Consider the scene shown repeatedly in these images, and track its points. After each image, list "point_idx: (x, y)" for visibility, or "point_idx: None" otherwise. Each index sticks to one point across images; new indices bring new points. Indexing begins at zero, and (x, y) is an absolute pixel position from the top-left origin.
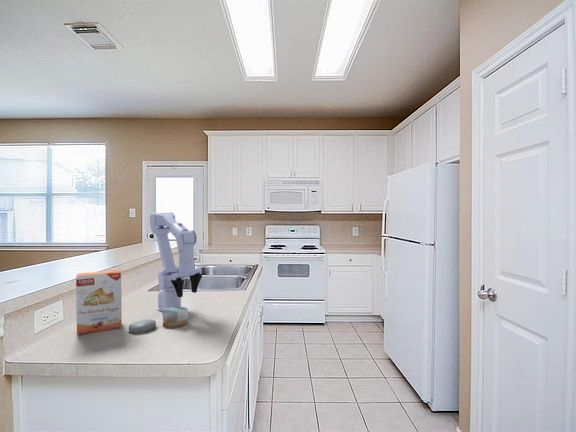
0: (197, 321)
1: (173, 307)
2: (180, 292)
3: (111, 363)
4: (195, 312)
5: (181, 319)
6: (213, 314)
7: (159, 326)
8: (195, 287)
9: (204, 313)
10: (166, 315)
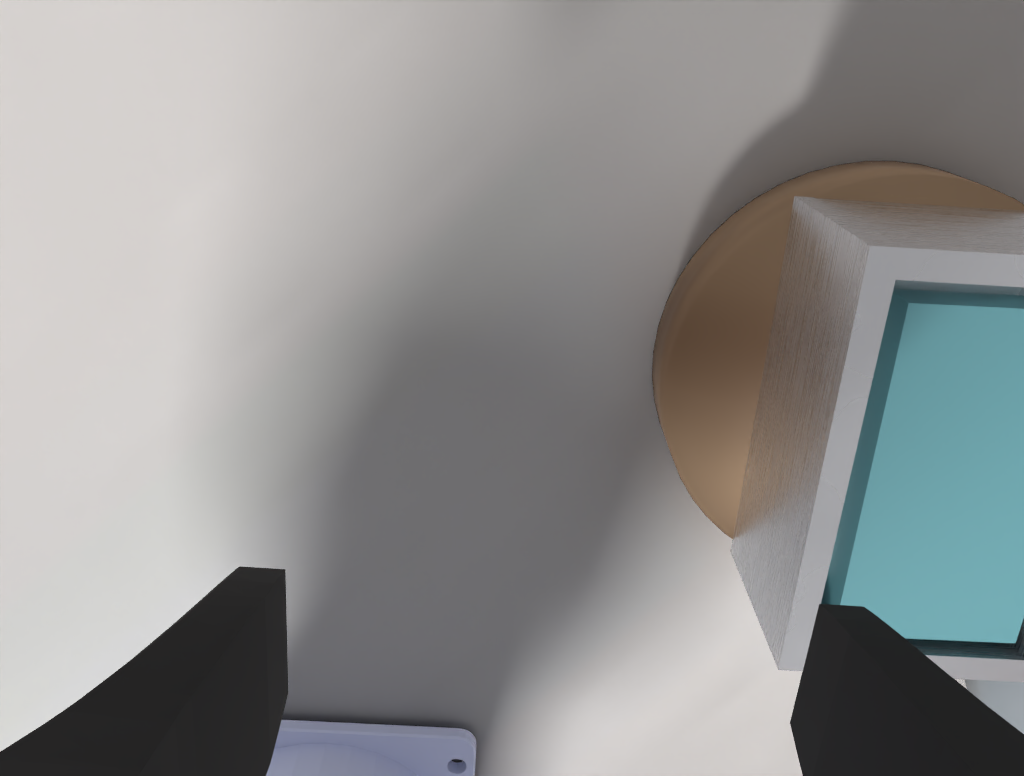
0: (631, 78)
1: (861, 588)
2: (961, 707)
3: None
4: (259, 447)
5: (974, 212)
6: (174, 51)
7: None
8: (230, 684)
9: (220, 264)
10: None
